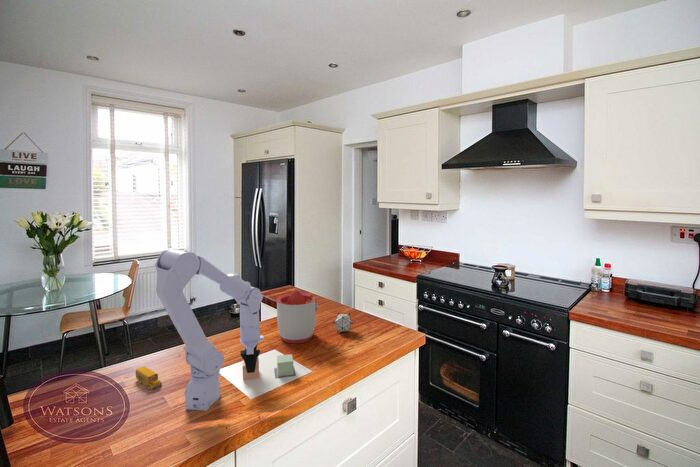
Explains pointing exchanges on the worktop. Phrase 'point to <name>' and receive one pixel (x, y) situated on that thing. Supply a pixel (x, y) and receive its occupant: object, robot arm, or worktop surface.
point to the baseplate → (262, 375)
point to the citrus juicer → (296, 316)
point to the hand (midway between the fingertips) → (251, 366)
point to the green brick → (285, 365)
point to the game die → (343, 322)
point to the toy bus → (148, 378)
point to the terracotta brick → (251, 375)
